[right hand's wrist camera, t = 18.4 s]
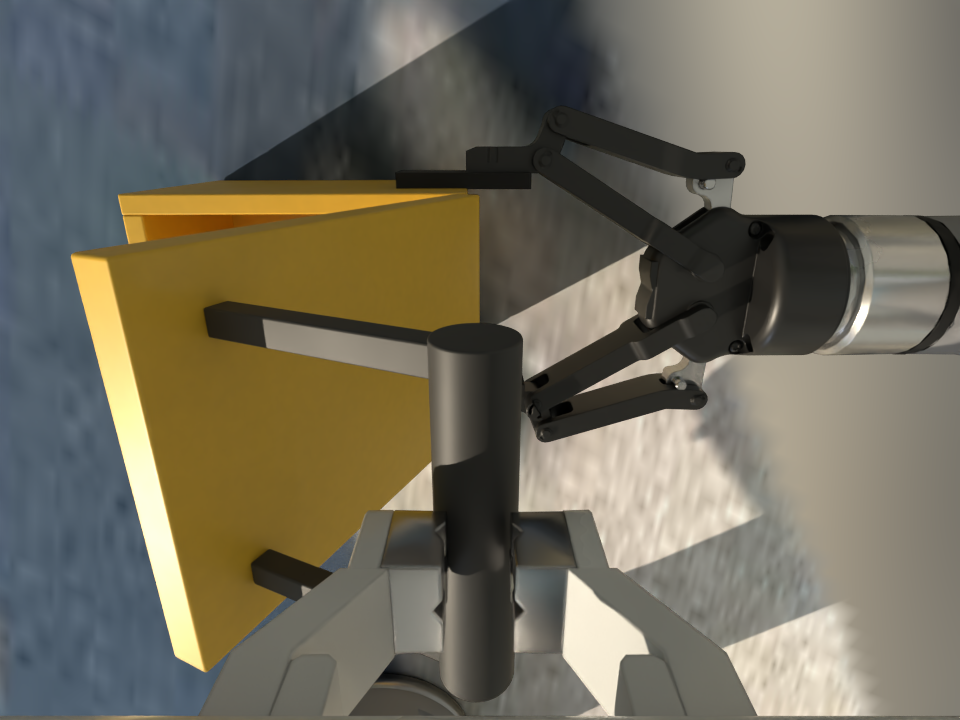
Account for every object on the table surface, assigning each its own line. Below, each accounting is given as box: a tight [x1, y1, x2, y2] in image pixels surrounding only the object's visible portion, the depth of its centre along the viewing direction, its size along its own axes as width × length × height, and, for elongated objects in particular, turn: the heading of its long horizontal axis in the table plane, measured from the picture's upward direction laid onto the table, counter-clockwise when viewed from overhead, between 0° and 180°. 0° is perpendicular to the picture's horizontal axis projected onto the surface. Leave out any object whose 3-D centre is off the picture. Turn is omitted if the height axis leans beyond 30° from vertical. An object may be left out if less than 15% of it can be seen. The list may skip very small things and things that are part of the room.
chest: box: [118, 180, 468, 244], centre depth 31 cm, size 15×10×11 cm
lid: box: [71, 194, 523, 702], centre depth 17 cm, size 16×10×8 cm
